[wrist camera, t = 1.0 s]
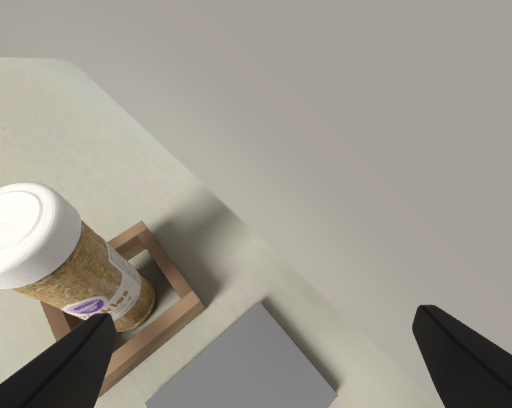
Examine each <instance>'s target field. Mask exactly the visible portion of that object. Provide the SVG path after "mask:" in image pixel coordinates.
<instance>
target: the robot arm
mask: <svg viewBox="0 0 512 408" xmlns="http://www.w3.org/2000/svg"><path fill="white" fill-rule="evenodd" d="M412 330H413V334H414V336H415V339H416V341H417V344H418V346H419V349H420V351H421V354H422V356H423V359H424V361H425V364H426V366H427V369H428V371H429V373H430V376H431V378H432V381H433V383H434V385H435V388H436V390H437V392H438V394H439V396H440V398H441V400H442V402H443V404H444V406H445V408H512V355H511V354H510V353H508V352H506V351H505V350H503V349H502V348H500V347H499V346H497V345H496V344H494V343H493V342H491V341H490V340H488V339H486V338H485V337H483V336H482V335H480V334H479V333H477V332H476V331H474V330H472V329H471V328H469V327H468V326H466V325H465V324H463V323H462V322H460V321H459V320H457V319H456V318H454V317H452V316H451V315H449V314H448V313H446V312H445V311H443V310H442V309H440V308H438V307H437V306H435V305H420V306H419V307H418V308H417V311H416V314H415V318H414V321H413V325H412ZM116 341H117V330H116V327H115V324H114V321H113V318H112V316H111V314H110V313H95V314H93V315H92V316H90V317H89V318H88V319H86V320H85V321H84V322H82V323H81V324H80V325H78V326H77V327H76V328H74V329H73V330H72V331H70V332H69V333H68V334H66V335H65V336H64V337H62V338H61V339H60V340H58V341H57V342H56V343H54V344H53V345H52V346H50V347H49V348H48V349H46V350H45V351H44V352H42V353H41V354H40V355H38V356H37V357H36V358H34V359H33V360H32V361H30V362H29V363H28V364H26V365H25V366H24V367H22V368H21V369H20V370H18V371H17V372H16V373H14V374H13V375H12V376H10V377H9V378H8V379H6V380H5V381H4V382H2V383H1V384H0V408H94V406H95V403H96V401H97V399H98V396H99V393H100V390H101V387H102V384H103V381H104V378H105V375H106V372H107V369H108V366H109V363H110V360H111V357H112V353H113V350H114V347H115V344H116Z"/></svg>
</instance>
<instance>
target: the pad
mask: <svg viewBox="0 0 512 408" xmlns="http://www.w3.org/2000/svg"><path fill="white" fill-rule="evenodd" d="M337 396H338V394H337V393H336V392H335V391H334V390H333V389H332V387H331V386H330V385H329V384H328V383H327V381H326V380H325V379H324V378H323V377H322V375H321V374H320V373H319V372H318V371H317V369H316V368H315V367H314V366H313V365H312V364H311V362H310V361H309V360H308V359H307V358H306V356H305V355H304V354H303V353H302V352H301V350H300V349H299V348H298V347H297V346H296V344H295V343H294V342H293V341H292V340H291V339H290V337H289V336H288V335H287V334H286V333H285V331H284V330H283V329H282V328H281V327H280V325H279V324H278V323H277V322H276V321H275V319H274V318H273V317H272V316H271V315H270V314H269V312H268V311H267V310H266V309H265V308H264V306H263V305H262V304H261V303H260V302H258V303H257V304H255V305H254V306H253V307H252V308H251V309H250V310H249V311H248V312H246V313H245V314H244V315H243V316H242V317H241V318H240V319H239V320H238V321H236V322H235V323H234V324H233V325H232V326H231V327H230V328H229V329H227V330H226V331H225V332H224V333H223V334H222V335H221V336H220V337H218V338H217V339H216V340H215V341H214V342H213V343H212V344H211V345H209V346H208V347H207V348H206V349H205V350H204V351H203V352H202V353H200V354H199V355H198V356H197V357H196V358H195V359H194V360H193V361H191V362H190V363H189V364H188V365H187V366H186V367H185V368H184V369H182V370H181V371H180V372H179V373H178V374H177V375H176V376H175V377H173V378H172V379H171V380H170V381H169V382H168V383H167V384H166V385H164V386H163V387H162V388H161V389H160V390H159V391H158V392H157V393H155V394H154V395H153V396H152V397H151V398H150V399H149V400H148V401H146V402H145V404H146V406H147V408H328V407H329V405H330V404H331V403H332V402H333V401H334V399H335V398H336V397H337Z"/></svg>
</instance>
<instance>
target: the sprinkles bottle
mask: <svg viewBox="0 0 512 408" xmlns="http://www.w3.org/2000/svg"><path fill="white" fill-rule="evenodd" d="M0 289H12V290H15V291H17V292H20V293H23V294H25V295H27V296H29V297H31V298H34V299H37V300H40V301H43V302H45V303H47V304H50V305H52V306H54V307H57V308H59V309H61V310H63V311H64V312H66V313H69V314H71V315H74V316H76V317H79V318H81V319H84V320H86V319H88V318H89V317H90V316H92V315H93V314H95V313H110V314H111V316H112V318H113V321H114V324H115V327H116V330H117V332H125V331H130V330H133V329H135V328H137V327H138V326H139V325H141V324H142V323H143V322H144V321H145V320H146V319H147V318H148V316H149V315H150V314H151V312H152V309H153V307H154V304H155V290H154V287H153V286H152V284H151V282H150V281H149V280H148V279H146V278H145V277H142V276H141V275H140V274H139V273H138V272H137V270H136V269H135V268H134V267H133V266H132V265H131V264H130V263H128V262H127V261H126V260H125V259H124V258H123V257H122V256H121V255H120V254H119V253H118V252H117V251H115V250H114V249H113V248H112V247H111V246H110V245H109V244H108V243H107V242H106V241H105V240H104V239H103V238H102V237H100V236H99V235H97V234H96V233H95V232H94V231H93V230H92V229H91V228H89V227H88V226H87V225H86V224H85V223H84V222H83V221H82V220H81V218H80V216H79V213H78V212H77V210H76V209H75V208H74V207H73V206H72V205H71V204H70V203H68V202H67V201H66V200H65V199H64V198H63V197H62V196H61V195H60V194H59V193H57V192H56V191H55V190H54V189H52V188H50V187H48V186H46V185H44V184H40V183H31V182H24V183H16V184H11V185H7V186H4V187H1V188H0Z"/></svg>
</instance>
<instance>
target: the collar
mask: <svg viewBox="0 0 512 408" xmlns="http://www.w3.org/2000/svg"><path fill="white" fill-rule="evenodd" d="M107 243H108V244H109V245H110V246H111V247H112V248H113V249H114V250H115V251H117V252H118V253H119V254H120V255H121V256H122V257H123V258H124V259H125V260H126V261H128V260H129V259H131V258H132V257H134V256H135V255H137V254H138V253H140V252H141V251H143V250H144V249H147V250H148V252H149V253H150V254H151V256H152V257H153V259H154V260H155V262H156V263H157V265H158V266H159V268H160V269H161V270H162V272H163V273H164V275H165V276H166V278H167V279H168V281H169V282H170V284H171V285H172V286H173V288H174V289H175V291H176V292H177V294H178V295H179V297H180V298H181V300H180V301H179V302H177V303H176V304H175V305H174V306H172V307H171V308H170V309H169V310H167V311H166V312H165V313H163V314H162V315H161V316H160V317H158V318H157V319H156V320H155V321H153V322H152V323H151V324H149V325H148V326H147V327H146V328H144V329H143V330H142V331H141V332H139V333H138V334H137V335H135V336H134V337H133V338H132V339H130V340H129V341H128V342H126V343H125V344H124V345H123V346H121V347H120V348H119V349H118V350H116V351H115V352H114V353H112V357H111V360H110V363H109V366H108V369H107V372H106V375H105V378H104V381H103V384H102V387H101V390H100V393H99V396H98V397H100V396H102V395H103V394H104V393H105V392H106V391H108V390H109V389H110V388H111V387H112V386H114V385H115V384H116V383H117V382H118V381H120V380H121V379H122V378H123V377H124V376H126V375H127V374H128V373H129V372H131V371H132V370H133V369H134V368H135V367H137V366H138V365H139V364H140V363H141V362H143V361H144V360H145V359H146V358H147V357H149V356H150V355H151V354H152V353H153V352H155V351H156V350H157V349H158V348H159V347H161V346H162V345H163V344H164V343H165V342H167V341H168V340H169V339H170V338H172V337H173V336H174V335H175V334H176V333H178V332H179V331H180V330H181V329H182V328H184V327H185V326H186V325H187V324H188V323H190V322H191V321H192V320H193V319H194V318H196V317H197V316H198V315H199V314H200V313H202V312H203V311H204V310H205V309H206V308H205V307H204V305H203V304H202V302H201V301H200V300H199V298H198V297H197V295H196V294H195V293H194V291H193V290H192V289H191V287H190V286H189V284H188V283H187V282H186V280H185V279H184V277H183V276H182V275H181V273H180V272H179V271H178V269H177V268H176V266H175V265H174V264H173V262H172V261H171V260H170V258H169V257H168V255H167V254H166V253H165V251H164V250H163V248H162V247H161V246H160V244H159V243H158V242H157V240H156V239H155V237H154V236H153V235H152V233H151V232H150V231H149V229H148V228H147V226H146V225H145V224H144V222H143V221H140V222H139V223H137V224H136V225H134V226H132V227H131V228H129V229H128V230H126V231H124V232H123V233H121V234H120V235H118V236H117V237H115V238H113V239H112V240H110V241H109V242H107ZM40 302H41V305H42V307H43V310H44V312H45V314H46V317H47V319H48V322H49V324H50V327H51V329H52V332H53V334H54V337H55V339H56V342H57V341H58V340H60V339H61V338H62V337H64V336H65V335H66V334H68V333H69V332H70V331H72V330H73V329H74V328H76V327H77V326H78V325H80V324H81V323H82V322H83V321H82V319H81V318H79V317H76V316H74V315H71V314H69V313H66V312H64V311H63V310H61V309H59V308H57V307H54V306H52V305H50V304H47V303H45V302H43V301H40Z"/></svg>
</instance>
